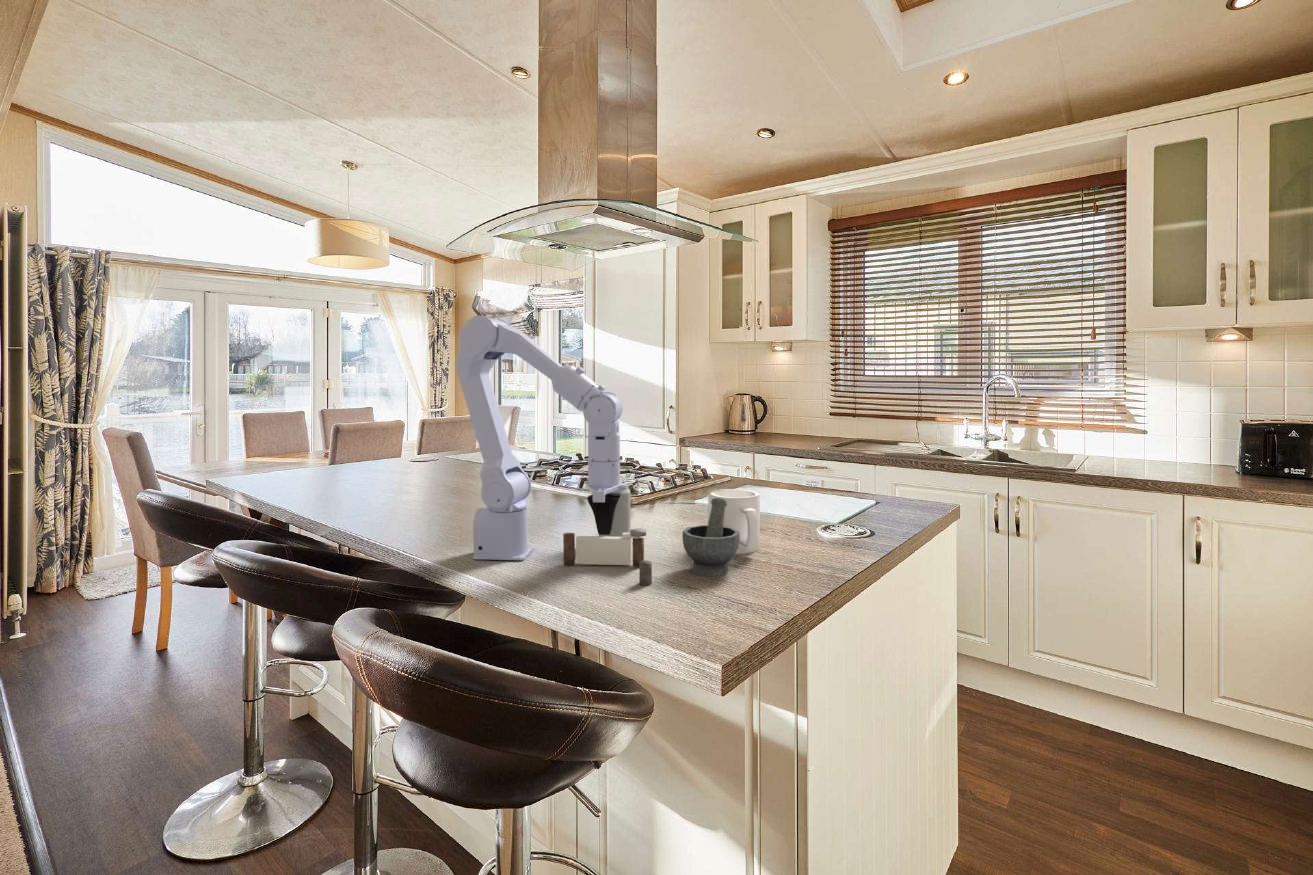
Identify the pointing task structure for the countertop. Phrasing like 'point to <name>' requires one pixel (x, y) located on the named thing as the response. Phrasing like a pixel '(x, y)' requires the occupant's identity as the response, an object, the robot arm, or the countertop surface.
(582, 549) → the gate
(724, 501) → the mortar and pestle
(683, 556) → the countertop surface
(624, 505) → the beverage can
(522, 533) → the robot arm
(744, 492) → the mug
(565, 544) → the posts
